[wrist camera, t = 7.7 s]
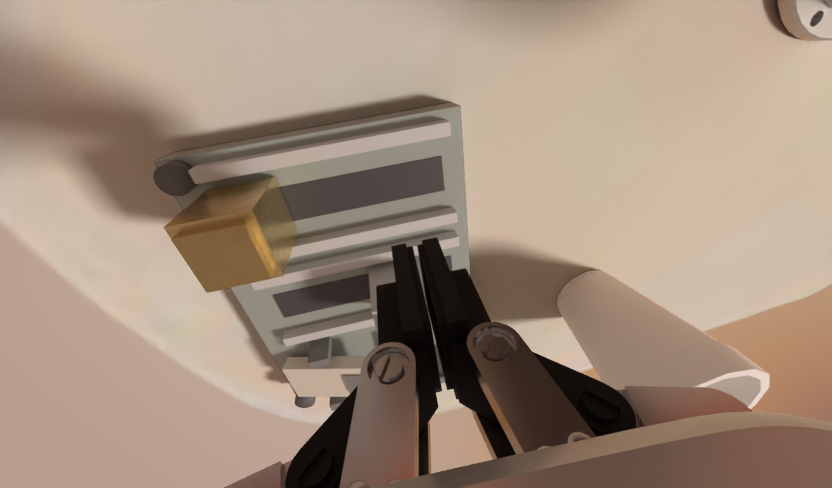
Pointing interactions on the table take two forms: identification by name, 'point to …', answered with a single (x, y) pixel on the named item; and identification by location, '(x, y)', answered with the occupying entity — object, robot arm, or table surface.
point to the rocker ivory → (324, 376)
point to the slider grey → (383, 276)
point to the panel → (339, 219)
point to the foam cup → (651, 342)
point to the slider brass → (235, 234)
